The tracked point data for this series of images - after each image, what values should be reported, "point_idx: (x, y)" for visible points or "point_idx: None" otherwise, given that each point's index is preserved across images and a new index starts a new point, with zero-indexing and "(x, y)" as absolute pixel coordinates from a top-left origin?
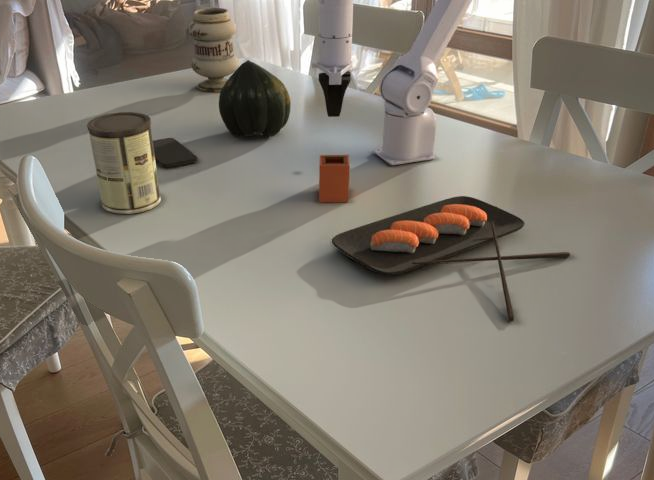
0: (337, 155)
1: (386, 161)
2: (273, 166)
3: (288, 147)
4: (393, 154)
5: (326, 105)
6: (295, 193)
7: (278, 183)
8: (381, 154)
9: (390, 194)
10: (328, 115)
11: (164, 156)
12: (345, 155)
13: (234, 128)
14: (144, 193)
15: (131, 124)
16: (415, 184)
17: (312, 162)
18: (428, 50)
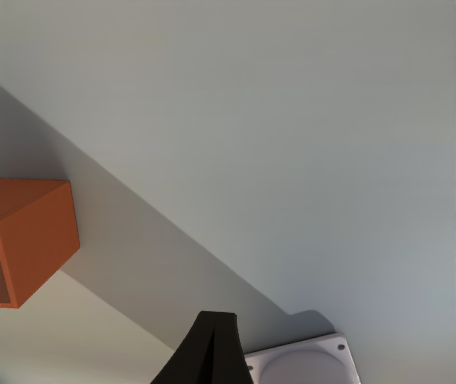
0: (3, 277)
1: (264, 350)
2: (260, 35)
3: (451, 86)
4: (266, 378)
5: (179, 346)
6: (43, 115)
7: (111, 60)
8: (307, 348)
9: (73, 329)
10: (199, 315)
11: None
12: (11, 299)
13: None
14: None
15: None
16: (133, 379)
17: (287, 168)
18: None
